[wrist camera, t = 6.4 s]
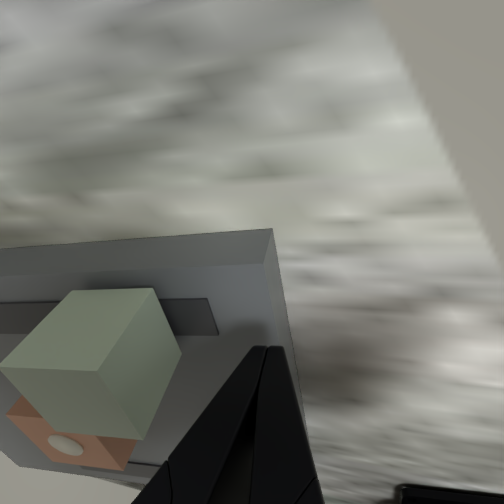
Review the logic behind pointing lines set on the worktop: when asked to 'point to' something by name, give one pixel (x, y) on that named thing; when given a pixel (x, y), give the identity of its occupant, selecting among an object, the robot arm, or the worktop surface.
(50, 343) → the sage slider
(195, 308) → the control panel
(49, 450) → the terracotta button
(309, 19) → the worktop surface
